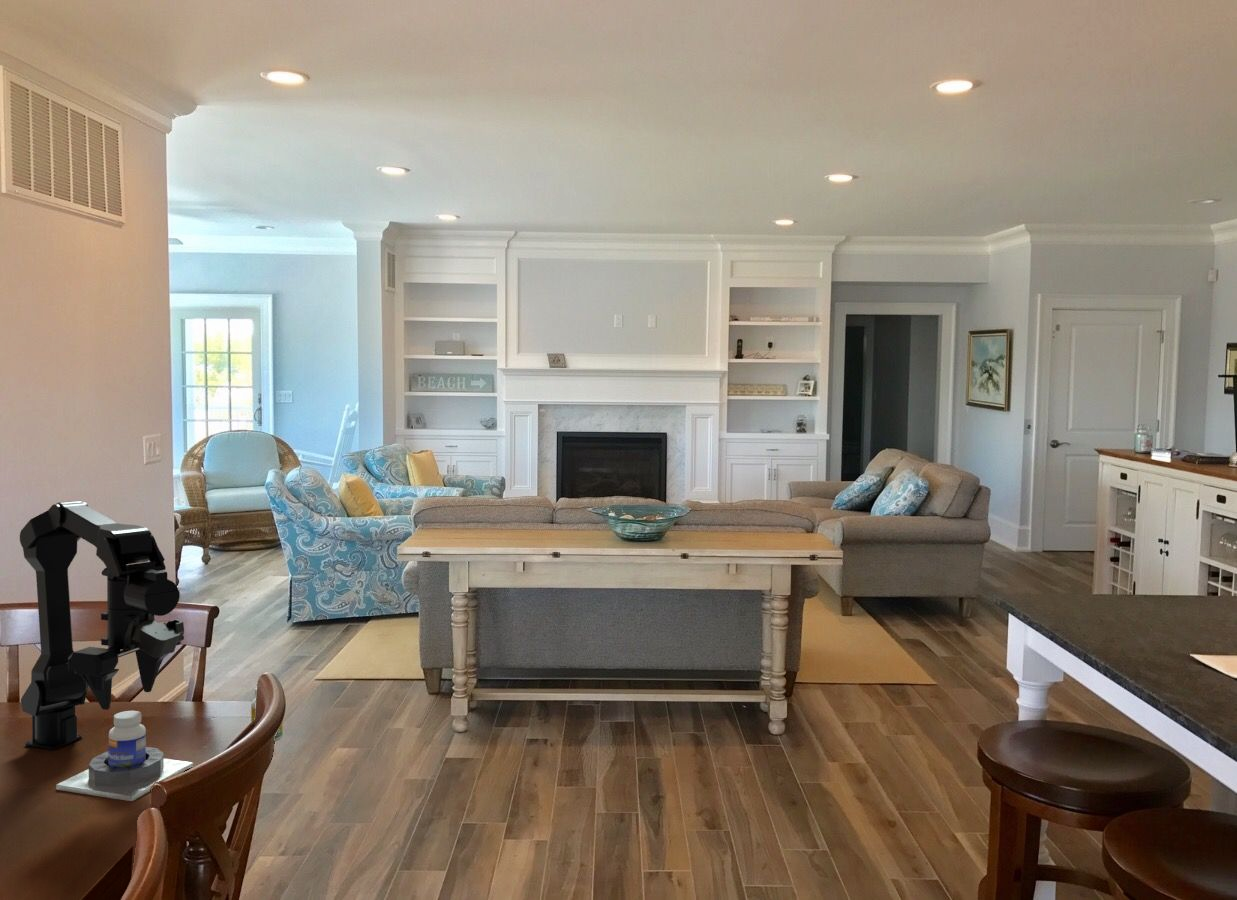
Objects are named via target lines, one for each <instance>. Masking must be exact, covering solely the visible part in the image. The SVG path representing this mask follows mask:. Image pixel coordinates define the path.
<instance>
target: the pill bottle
mask: <svg viewBox="0 0 1237 900" xmlns="http://www.w3.org/2000/svg"><path fill="white" fill-rule="evenodd" d="M141 722H142V712H141V711H139V710H125V711H120V712H118V713H115V714H114V715H113V725H114V726H113V727H112V728H110V730H109V732H108V751H109V753H108V766H113V767H123V766H131V765H135V764H139V763H141V762H143V761H145V760H146V747H147V741H146V740H147V739H146V738H147V737H146V736H147V733H146V732H147V731H146V730H147V729H146V727H145V726H144V724H142V723H141Z"/></svg>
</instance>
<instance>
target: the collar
mask: <svg viewBox="0 0 1237 900" xmlns="http://www.w3.org/2000/svg"><path fill="white" fill-rule="evenodd" d="M108 753H109V750H108V751H105V752H103V753H101V754H98V755H97V756H94V757H92V759H91V760H90V762H89V763H88V769H86V770H84V771H81V772H80V773H78V774H76V775H73V776H70V777H68V778H66V779H65V780H63V781H61V782H59V783H57V784H56V786H55V787H56V788H55V789H56V790H57V791H62V792H63V791H64V792H70V793H77V794H83V795H89V796H94V797H102V798H108V799H115V800H121V801H126V802H133V801H136V800H137V799H138V798H139V799H140V797H143V796H144V795H146V794H148V793H149V792H151V791H150V788H151V786H152V785H153V784H154V783H155V782H159V781H162V780H164V779H166V778H169V777H171V776H173V775H176V774H178V773H181V772H183V771H185V770H187V769H189V768H190V769H192V768H193V767H194V762H191V761H185V760H177V759H171V758H165V757H164V755H165V754H164V752H163V751H161V749H159V748H157V747H150V746H146V760H145V761H143V762H141V763H139V764H135V765H131V766H123V767H113V766H108ZM191 767H192V768H191ZM190 769H189V770H190ZM187 771H188V770H187ZM185 772H186V771H185ZM183 773H184V772H183Z"/></svg>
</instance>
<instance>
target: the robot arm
mask: <svg viewBox="0 0 1237 900" xmlns="http://www.w3.org/2000/svg"><path fill="white" fill-rule="evenodd" d="M81 539H82V540H84V541H86V542H87V543H89V544H91V545H93V546H94V547H95V548H96V553H95V555H96V556H97V557H98V559H100V561H101V562H103V564H104V566H105V568H103V570H102V571H101V575H102V576H105V577H106V579H107V580H106V583H107V585H106V589H107V590H106V592H107V593H106V596H107V600H106V602H107V604H106V605H107V607H106V608H107V609H106V610H107V611H106V612H102V613H100V620H101V621H107V622H106V625H107V626H106V627H107V629H106V630H107V631H106V633H107V634H106V637H102V638H101V639H100V643H101V644H100V645H101V646H105V647H106V646H107V648H103V647H94V646H87V647H85V648H82V649H78V650H75V651H74V648H73V644H74V643H73V630H72V616H71V615H72V614H71V613H72V612H71V600H70V585H69V567H70V566H71V563H72V562H73V560H74V559H75V557H76V555H77V554H78V542H79V540H81ZM19 541H20V542H19V543H20V545H21V547H22V551H23V552H22V553H23V557H24V560H26V561H27V563H28V564H29V565H30V566H31V568H32V569H33V570H34V571H35V578H36V590H37V591H36V592H37V593H36V594H37V607H38V609H37V610H38V624H39V638H40V655H39V656H38V659H37V660H36V662H35V663H34V666H33V667H32V669H31V672H30V673H31V678H30V681H31V682H30V684H29V685H28V687H27V688H26V690H25V692H24V693H23V695H22V697H21V698H20V703H21V709H22V712H24V713H26V714H28V715H31V724H32V726H31V727H32V728H31V730H32V735H31V736H32V737H31V738H32V739H30V740H27V741H25V742H24V746H26V747H33V748H40V749H48V750H56V749H59V748H61V747H63V746H66V745H68V744H70V743H72V742H76V741H77V740H79V739H82V738H83V734H82V733H78V716H77V715H76V707H77V706H82V705H85V702H86V698H87V693H88V689H90V690H91V692H92V693H93V696H94V697H95V699H96V701H97V702H98V705H99V706H100V707H101V709H102V710H105V711H108V710H110V709H111V703H112V690H113V689H112V685H113V683H112V682H113V677H114V676H115V675H116V674H117V673H118V672H119V670H120V669H119V668H116V667H117V665H118V663H119V658H121V657H124V656H127V655H129V654H132V653H135V656H136V657H135V658H136V661H137V667H138V671H139V672H138V673H139V677H140V681H141V685H142V689H143V691H144V692H145V693H151V692H152V689H153V687H154V684H155V681H156V679H157V676H158V672H159V670H160V668H161V666H162V663H163V660H164V659H165V658H166V657H168V655H170V654H173V653H175V650H176V648H177V646H179V645H181V644H182V641H184V640H185V636H184V634H185V625H184V621H183V620H181V619H179V618H173V619H170V620H169V621H168V622H165V621H163V622H158V621H157V620H155V619H156V618H155V616H157V617H162V616H165V615H168V614H169V613H171V612H173V611H174V610H175V608H176V606H178V603H179V601H180V595H181V594H180V590H179V588H178V586H177V583H175V582H174V581H173V580H170V579H168V571H166V569H167V568H166V565H165V562H164V561H165V560H166V559H165V557H164V556H163V554H162V552H161V550H160V548H159V547H158V543H157V541H156V539H155V537H154V535H153V533H152V532H151V530H149V529H148V528H147V527H145V526H141V525H136V524H127V523H126V524H125V523H118V522H116V521H115V520H113V519H111V518H110V517H107V516H106V515H104V514H102V513H100V512H99V511H97V510H95V509H94V508H91V507H90V506H89V505H88V503H87V502H85V501H81V500H74V501H71V500H70V501H58V502H57V503H55V504H52V505H51V506H50V507H49V509H47V510H46V511H44V512H42V513H40V514H38V515H36V516H34V517H32V518H30V519H29V521H28V522H27V523H26V524H25V526H23V527H22V529H21V530H20V532H19Z"/></svg>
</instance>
